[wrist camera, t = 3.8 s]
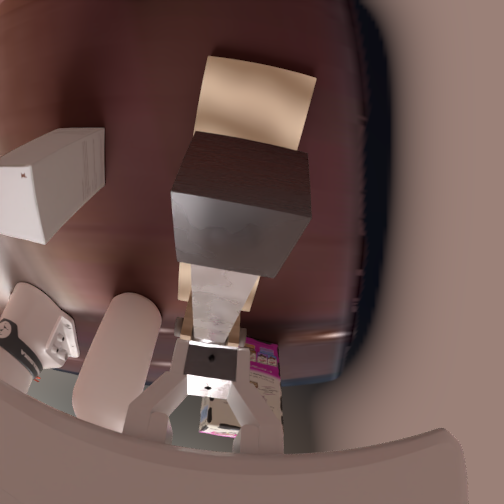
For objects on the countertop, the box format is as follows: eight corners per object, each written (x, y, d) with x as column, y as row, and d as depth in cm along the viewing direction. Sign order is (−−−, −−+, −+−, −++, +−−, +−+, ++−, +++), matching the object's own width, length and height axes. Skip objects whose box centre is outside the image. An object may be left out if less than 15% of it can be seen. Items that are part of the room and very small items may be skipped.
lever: (230, 308, 30) (225, 352, 28) (197, 302, 30) (190, 346, 27) (304, 118, 10) (311, 218, 7) (210, 99, 9) (170, 191, 7)
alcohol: (144, 285, 37) (80, 495, 12) (172, 324, 42) (136, 509, 17) (102, 294, 38) (35, 469, 14) (131, 330, 43) (87, 491, 19)
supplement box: (57, 127, 23) (-18, 164, 13) (106, 126, 24) (31, 164, 14) (60, 182, 28) (-3, 235, 17) (106, 187, 28) (45, 247, 18)
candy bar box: (207, 343, 44) (196, 432, 31) (216, 326, 42) (206, 424, 28) (266, 358, 47) (268, 442, 34) (279, 344, 44) (285, 434, 31)
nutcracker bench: (249, 304, 39) (248, 377, 29) (180, 292, 38) (161, 363, 28) (313, 78, 22) (356, 76, 12) (210, 57, 21) (177, 38, 11)
